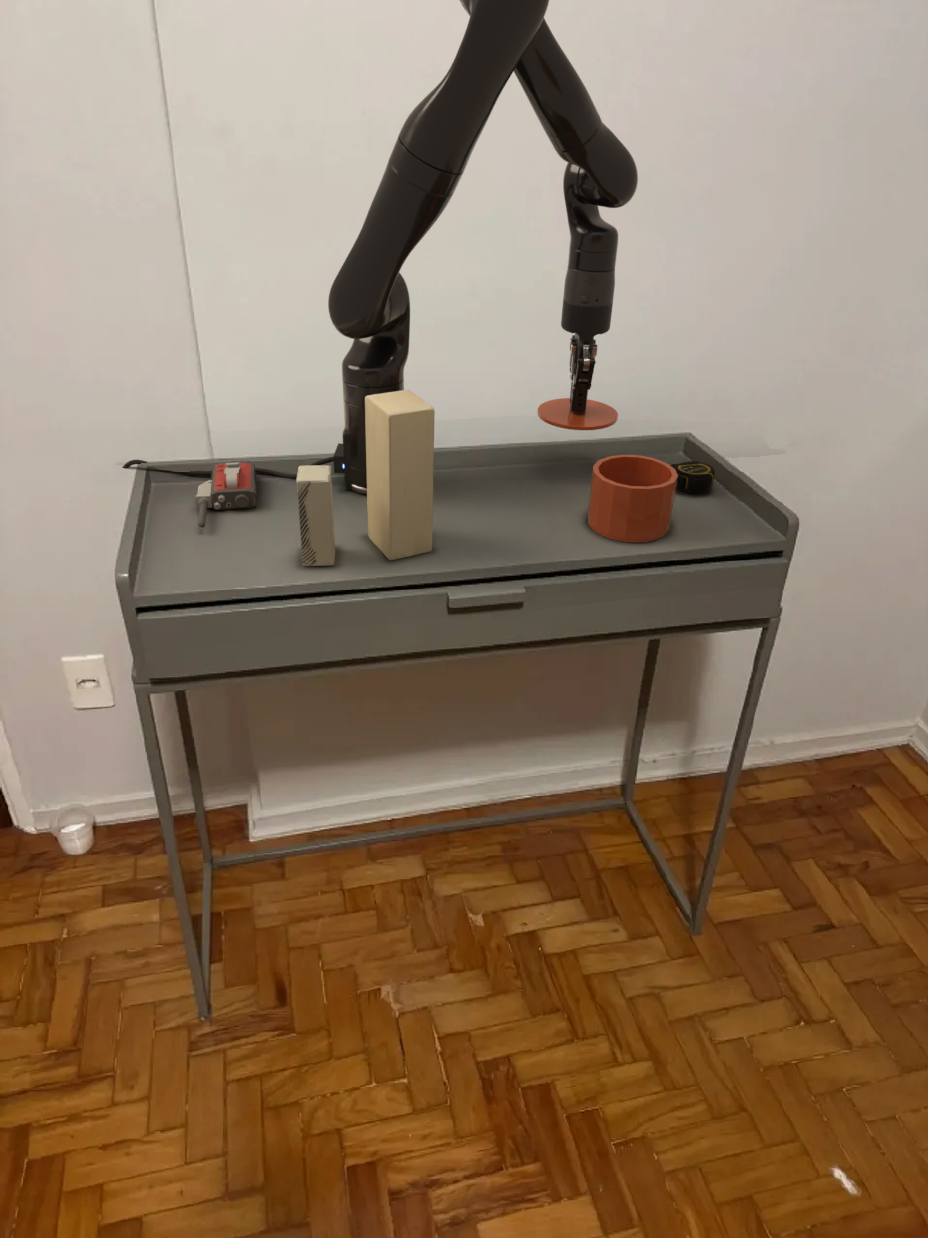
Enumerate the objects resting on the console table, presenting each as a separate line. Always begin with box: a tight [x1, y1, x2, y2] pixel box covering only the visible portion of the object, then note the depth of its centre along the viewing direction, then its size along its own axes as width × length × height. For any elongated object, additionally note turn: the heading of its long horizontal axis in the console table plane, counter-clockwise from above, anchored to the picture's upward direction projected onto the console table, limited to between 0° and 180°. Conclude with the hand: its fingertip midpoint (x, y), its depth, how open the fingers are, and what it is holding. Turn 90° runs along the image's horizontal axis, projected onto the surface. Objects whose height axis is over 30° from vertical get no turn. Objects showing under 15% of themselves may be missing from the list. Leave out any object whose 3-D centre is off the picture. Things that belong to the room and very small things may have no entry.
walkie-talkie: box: [195, 460, 258, 529], centre depth 141 cm, size 9×4×20 cm
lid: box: [536, 379, 619, 431], centre depth 149 cm, size 13×13×6 cm
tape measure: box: [669, 460, 716, 493], centre depth 149 cm, size 7×7×4 cm
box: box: [296, 464, 336, 567], centre depth 125 cm, size 5×4×13 cm
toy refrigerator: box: [365, 389, 436, 561], centre depth 126 cm, size 8×7×21 cm
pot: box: [587, 454, 678, 543], centre depth 137 cm, size 12×12×8 cm
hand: (577, 407), depth 150 cm, fingers closed on lid, 2 cm apart
